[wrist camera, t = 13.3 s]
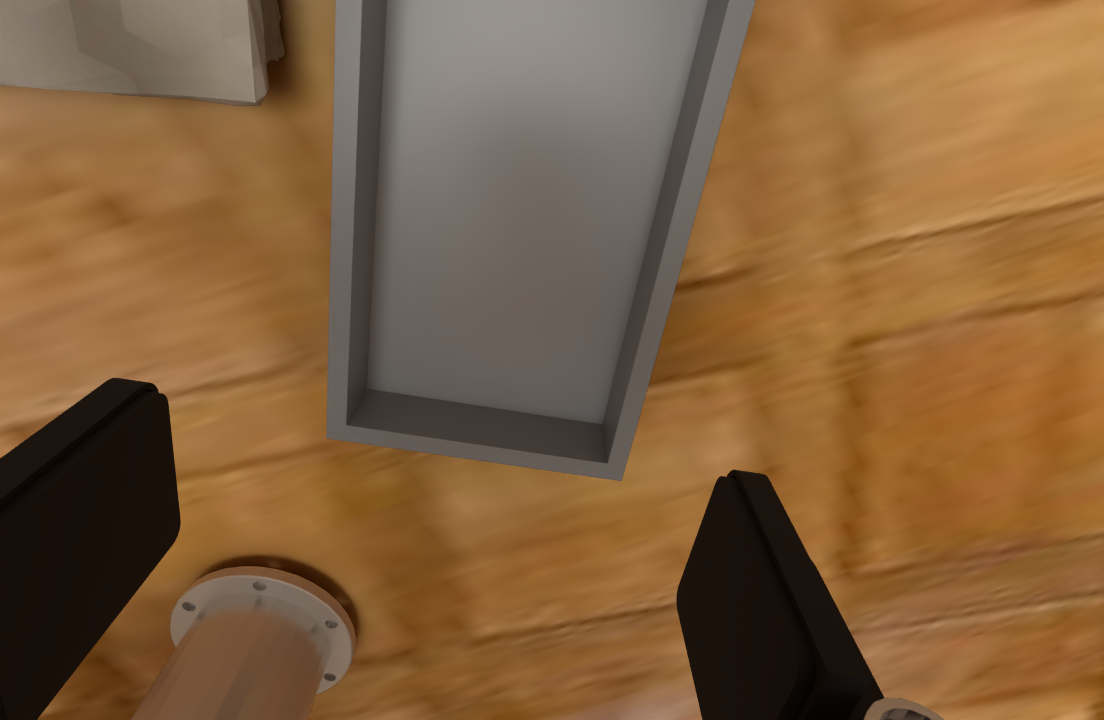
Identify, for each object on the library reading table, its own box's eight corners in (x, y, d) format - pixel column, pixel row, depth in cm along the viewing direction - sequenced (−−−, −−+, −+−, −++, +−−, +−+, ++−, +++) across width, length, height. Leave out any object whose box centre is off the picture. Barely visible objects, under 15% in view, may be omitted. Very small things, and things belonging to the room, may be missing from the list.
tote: (613, 431, 39) (621, 481, 34) (353, 392, 37) (326, 438, 33) (741, -61, 27) (778, -84, 23) (376, -141, 26) (339, -181, 22)
